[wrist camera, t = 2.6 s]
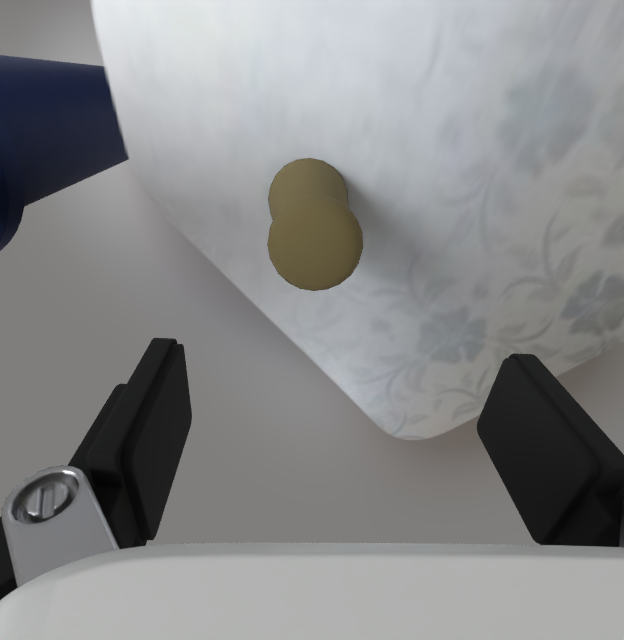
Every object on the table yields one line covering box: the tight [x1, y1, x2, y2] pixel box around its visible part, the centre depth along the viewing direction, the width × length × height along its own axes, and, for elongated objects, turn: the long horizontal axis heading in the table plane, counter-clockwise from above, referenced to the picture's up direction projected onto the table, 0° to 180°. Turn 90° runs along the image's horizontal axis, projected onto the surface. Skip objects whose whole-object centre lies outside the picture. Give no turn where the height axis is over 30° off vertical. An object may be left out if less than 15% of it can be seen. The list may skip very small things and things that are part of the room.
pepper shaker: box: [267, 158, 363, 291], centre depth 24 cm, size 6×6×11 cm
